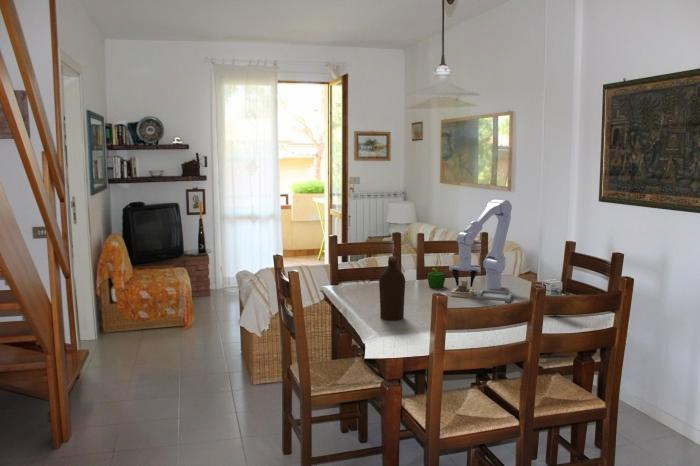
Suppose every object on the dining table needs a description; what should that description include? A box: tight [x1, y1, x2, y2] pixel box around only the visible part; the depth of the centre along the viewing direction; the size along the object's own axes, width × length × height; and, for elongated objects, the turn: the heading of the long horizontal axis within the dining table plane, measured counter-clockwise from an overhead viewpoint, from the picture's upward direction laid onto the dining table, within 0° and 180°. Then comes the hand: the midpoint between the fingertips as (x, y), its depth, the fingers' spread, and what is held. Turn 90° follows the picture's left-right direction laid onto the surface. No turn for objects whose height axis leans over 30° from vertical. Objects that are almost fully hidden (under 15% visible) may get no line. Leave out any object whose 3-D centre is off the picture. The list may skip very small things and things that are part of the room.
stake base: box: [447, 285, 479, 299], centre depth 289 cm, size 12×12×5 cm
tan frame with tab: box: [450, 279, 475, 299], centre depth 288 cm, size 12×9×6 cm
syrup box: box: [542, 278, 563, 296], centre depth 254 cm, size 6×6×14 cm
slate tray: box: [476, 289, 513, 304], centre depth 285 cm, size 14×14×2 cm
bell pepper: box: [427, 267, 446, 289], centre depth 305 cm, size 8×8×10 cm
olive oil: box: [378, 255, 406, 321], centre depth 250 cm, size 11×11×25 cm
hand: (464, 286), depth 293 cm, fingers open, 6 cm apart
